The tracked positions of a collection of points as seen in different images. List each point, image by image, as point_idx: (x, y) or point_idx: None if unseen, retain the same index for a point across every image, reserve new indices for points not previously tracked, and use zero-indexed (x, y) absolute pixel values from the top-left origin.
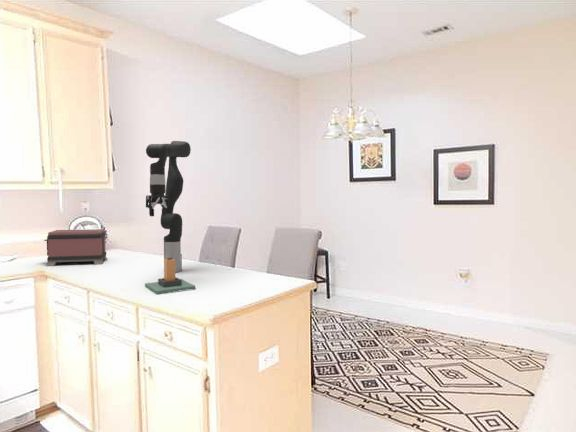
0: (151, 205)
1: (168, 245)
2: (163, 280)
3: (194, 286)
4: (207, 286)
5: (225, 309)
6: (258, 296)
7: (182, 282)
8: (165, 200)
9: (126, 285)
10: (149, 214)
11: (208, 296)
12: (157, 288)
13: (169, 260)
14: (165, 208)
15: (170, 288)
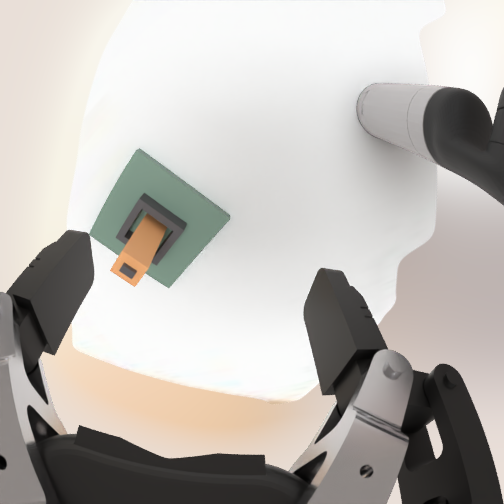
0: (11, 365)
1: (413, 119)
2: (129, 225)
3: (167, 286)
4: (205, 295)
5: (97, 355)
6: (176, 375)
7: (188, 244)
8: (434, 489)
9: (134, 86)
10: (46, 248)
11: (134, 323)
12: (106, 221)
13: (118, 275)
14: (332, 392)
15: (121, 249)
